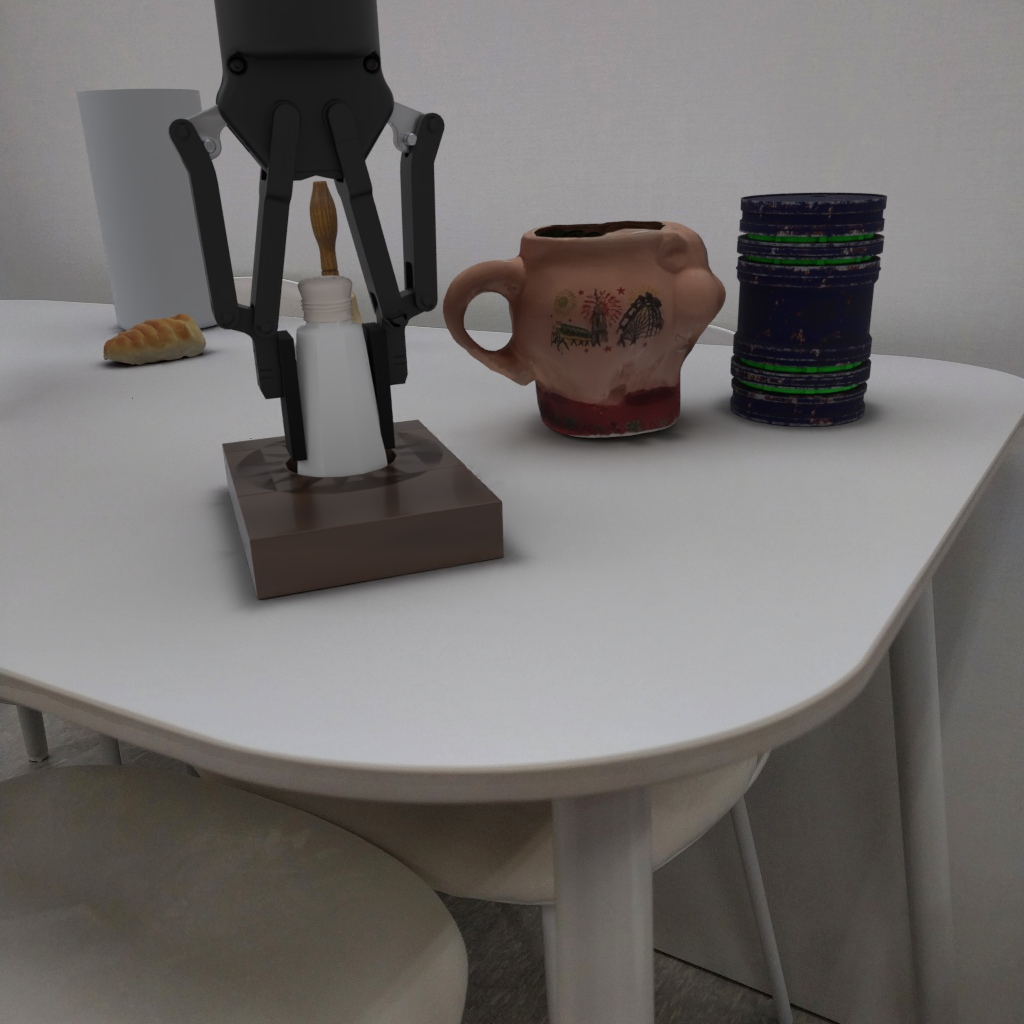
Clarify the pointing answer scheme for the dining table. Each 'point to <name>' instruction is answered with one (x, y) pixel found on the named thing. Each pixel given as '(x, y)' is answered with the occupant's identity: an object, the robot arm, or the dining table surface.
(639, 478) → the dining table surface
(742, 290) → the storage jar
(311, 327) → the salt shaker
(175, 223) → the cylinder vase
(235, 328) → the robot arm
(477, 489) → the holder
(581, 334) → the ceramic mug
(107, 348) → the pastry
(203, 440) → the dining table surface
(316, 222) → the hand bell
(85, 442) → the dining table surface
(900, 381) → the dining table surface
